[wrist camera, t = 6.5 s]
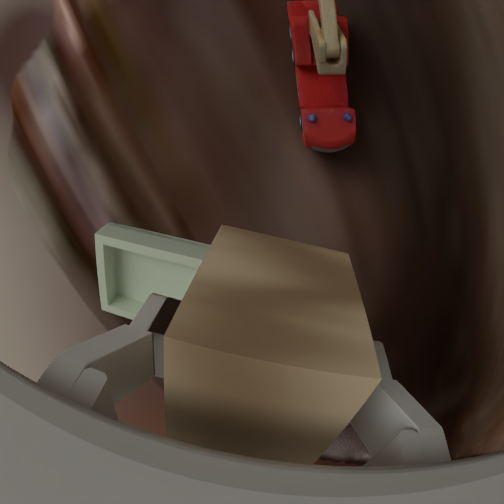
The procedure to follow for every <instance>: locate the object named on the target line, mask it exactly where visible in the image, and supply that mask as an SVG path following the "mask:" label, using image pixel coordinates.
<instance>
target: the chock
mask: <svg viewBox="0 0 504 504" xmlns="http://www.w3.org/2000/svg"><path fill="white" fill-rule="evenodd" d="M381 380H382V377H381V373H380V368H379V364H378V360H377V355H376V351H375V347H374V343H373V339H372V335H371V331H370V327H369V324H368V320H367V316H366V312H365V309H364V305H363V302H362V298H361V295H360V291H359V288H358V284H357V281H356V278H355V274H354V271H353V268H352V265H351V261H350V258H349V255H348V254H347V253H343V252H339V251H334V250H330V249H326V248H322V247H318V246H313V245H309V244H305V243H300V242H296V241H292V240H287V239H283V238H279V237H274V236H270V235H265V234H261V233H257V232H252V231H248V230H243V229H239V228H234V227H230V226H225V225H221V227H220V229H219V231H218V233H217V234H216V236H215V238H214V240H213V242H212V244H211V246H210V247H209V249H208V251H207V253H206V255H205V257H204V259H203V261H202V262H201V264H200V266H199V268H198V270H197V272H196V274H195V276H194V278H193V280H192V282H191V283H190V285H189V287H188V289H187V291H186V293H185V295H184V297H183V299H182V301H181V303H180V305H179V307H178V309H177V311H176V313H175V315H174V317H173V319H172V321H171V323H170V325H169V327H168V328H167V330H166V333H165V335H164V393H165V394H164V395H165V417H166V433H167V437H168V438H172V439H175V440H179V441H182V442H186V443H190V444H193V445H197V446H201V447H205V448H210V449H214V450H219V451H223V452H228V453H233V454H238V455H244V456H249V457H255V458H261V459H268V460H275V461H283V462H291V463H301V464H313V463H314V462H315V461H316V460H317V459H318V458H319V457H320V456H321V455H322V453H323V452H324V451H325V450H326V449H327V448H328V447H329V446H330V445H331V443H332V442H333V441H334V440H335V439H336V438H337V436H338V435H339V434H340V433H341V432H342V431H343V429H344V428H345V427H346V426H347V424H348V423H349V422H350V421H351V420H352V418H353V417H354V416H355V415H356V413H357V412H358V411H359V409H360V408H361V407H362V406H363V404H364V403H365V402H366V400H367V399H368V398H369V396H370V395H371V394H372V392H373V391H374V389H375V388H376V387H377V385H378V384H379V382H380V381H381Z"/></svg>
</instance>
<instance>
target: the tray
mask: <svg viewBox="0 0 504 504" xmlns="http://www.w3.org/2000/svg"><path fill="white" fill-rule="evenodd" d="M210 246H211V245H209V244H204V243H200V242H196V241H191V240H187V239H183V238H178V237H174V236H170V235H165V234H161V233H157V232H152V231H148V230H144V229H139V228H135V227H131V226H126V225H122V224H118V223H113V222H109V223H107V224H106V225H105V226H104V227H102V228H101V229H100V230H99V231H97V232H96V233H95V247H96V261H97V272H98V282H99V291H100V300H101V308H102V310H105V311H107V312H110V313H113V314H116V315H119V316H123V317H126V318H129V319H132V320H133V319H134V318H135V316H136V315H137V313H138V312H139V310H140V309H141V307H142V306H143V304H144V302H145V301H146V299H147V298H148V296H149V295H150V294H152V293H156V294H160V295H163V296H167V297H171V298H174V299H178V300H181V301H182V299H183V297H184V295H185V293H186V291H187V289H188V287H189V285H190V283H191V282H192V280H193V278H194V276H195V274H196V272H197V270H198V268H199V266H200V264H201V262H202V261H203V259H204V257H205V255H206V253H207V251H208V249H209V247H210Z"/></svg>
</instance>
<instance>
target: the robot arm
mask: <svg viewBox="0 0 504 504" xmlns="http://www.w3.org/2000/svg"><path fill="white" fill-rule="evenodd" d="M180 303H181V300H178V299H174V298H171V297H167V296H163V295H160V294H156V293H152V294H150V295H149V296H148V298H147V299H146V301H145V302H144V304H143V306H142V307H141V309H140V310H139V312H138V313H137V315H136V316H135V318H134V319H133V321H132V322H131V324H130V326H129V325H126V324H124V325H122V326H120V327H117V328H115V329H113V330H110V331H108V332H106V333H103V334H101V335H99V336H96V337H94V338H92V339H89V340H87V341H84V342H82V343H80V344H77V345H75V346H73V347H70V348H68V349H65V350H63V351H61V352H59V353H58V354H57V355H56V357H55V358H54V360H53V361H52V362H51V364H50V365H49V366H48V368H47V369H46V370H45V372H44V373H43V375H42V376H41V377H40V379H39V380H38V382H37V383H36V382H34V381H33V380H31V379H29V378H27V377H25V376H24V375H22V374H20V373H19V372H17V371H15V370H13V369H12V368H10V367H9V366H7V365H6V364H4V363H2V362H0V504H504V451H500V452H496V453H492V454H487V455H482V456H477V457H472V458H466V459H460V460H453V461H451V459H450V455H449V451H448V447H447V443H446V439H445V435H444V431H443V428H442V427H441V426H440V425H439V424H438V423H437V422H436V421H435V420H434V419H433V418H432V416H431V415H430V414H429V413H428V412H427V411H426V410H425V409H424V408H423V407H422V406H421V405H420V404H419V403H418V402H417V401H416V400H415V399H414V398H413V397H412V396H411V395H410V394H409V393H408V392H407V391H406V389H405V388H404V387H403V386H402V385H401V384H400V383H399V382H398V381H397V380H392V376H391V372H390V368H389V365H388V361H387V357H386V354H385V350H384V347H383V344H382V342H381V341H374V340H373V343H374V347H375V351H376V355H377V360H378V364H379V368H380V373H381V377H382V380H381V381H380V382H379V384H378V385H377V387H376V388H375V389H374V391H373V392H372V394H371V395H370V396H369V398H368V399H367V400H366V402H365V403H364V404H363V406H362V407H361V408H360V409H359V411H358V412H357V413H356V415H355V416H354V417H353V418H352V420H351V421H350V423H351V425H352V426H353V428H354V430H355V431H356V433H357V434H358V436H359V437H360V439H361V441H362V442H363V444H364V445H365V447H366V448H367V450H368V452H369V453H370V455H371V456H372V459H370V460H369V461H368V462H367V463H366V464H365V465H364V466H362V467H350V466H325V465H312V464H301V463H291V462H283V461H275V460H268V459H261V458H255V457H249V456H244V455H238V454H233V453H228V452H223V451H219V450H214V449H210V448H205V447H201V446H197V445H193V444H190V443H186V442H182V441H179V440H175V439H172V438H168V437H165V436H161V435H158V434H155V433H152V432H149V431H146V430H143V429H140V428H137V427H134V426H131V425H129V424H126V423H124V422H121V421H119V420H118V416H117V413H116V410H115V406H114V404H116V403H117V402H119V401H120V400H122V399H123V398H125V397H126V396H128V395H129V394H130V393H132V392H133V391H135V390H136V389H138V388H139V387H141V386H142V385H144V384H145V383H147V382H148V381H149V380H151V379H152V378H154V376H157V377H161V378H164V335H165V333H166V330H167V328H168V327H169V325H170V323H171V321H172V319H173V317H174V315H175V313H176V311H177V309H178V307H179V305H180Z"/></svg>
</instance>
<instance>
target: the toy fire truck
mask: <svg viewBox="0 0 504 504" xmlns="http://www.w3.org/2000/svg"><path fill="white" fill-rule="evenodd" d="M287 8H288V17H289V21H290V25H289V30H290V38H291V42H292V43H293V47H292V57H293V64H294V66H295V67H296V70H295V72H296V82H297V90H298V98H299V106H300V108H301V110H300V112H299V113H300V114H299V117H300V126H301V130H302V131H303V133H302V139H303V143H304V145H305V146H306V147H308V148H310V149H313V150H316V151H320V152H336V151H340V150H343V149H345V148H347V147H348V146H350V145H352V144H353V143H354V141H355V137H356V115H355V110H354V108H350V107H348V91H347V81H346V66H348V62H349V50H348V49H349V47H348V22H347V18H346V17H344V16H343V17H341V16H338V13H337V6H336V2H335V1H334V0H318V1H292V2H287Z"/></svg>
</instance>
